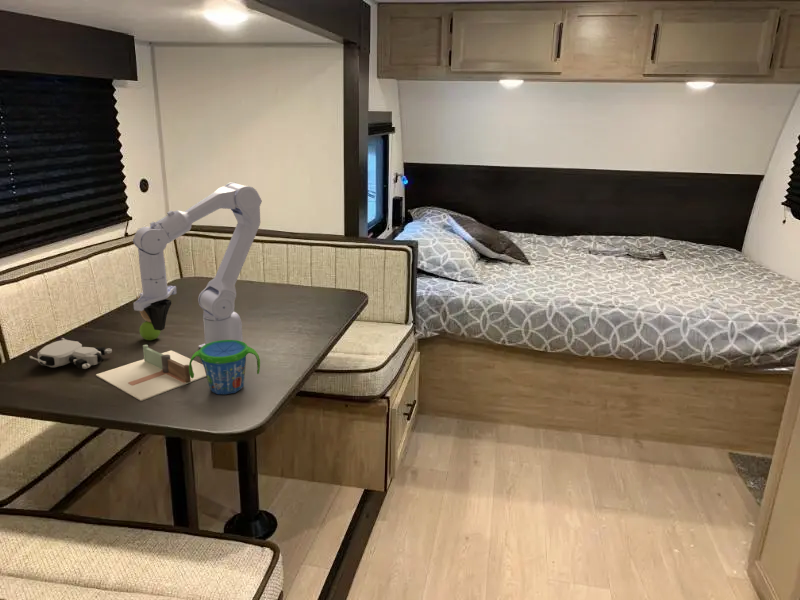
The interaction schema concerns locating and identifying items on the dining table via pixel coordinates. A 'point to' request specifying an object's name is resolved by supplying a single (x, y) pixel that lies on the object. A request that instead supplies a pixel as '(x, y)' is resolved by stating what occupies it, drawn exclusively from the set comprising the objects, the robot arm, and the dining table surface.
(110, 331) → the dining table surface
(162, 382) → the card
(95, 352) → the robot toy
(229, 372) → the snack cup
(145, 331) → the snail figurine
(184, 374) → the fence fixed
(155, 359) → the fence gate
